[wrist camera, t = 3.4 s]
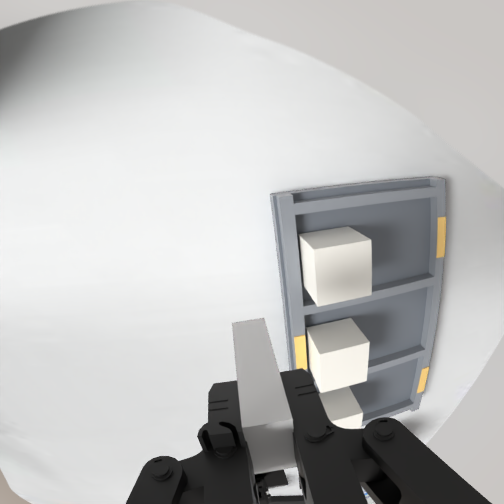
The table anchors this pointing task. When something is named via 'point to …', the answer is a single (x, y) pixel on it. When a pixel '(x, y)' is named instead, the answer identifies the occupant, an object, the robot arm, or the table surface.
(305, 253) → the white cube
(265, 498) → the black mounting bracket
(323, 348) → the white cube
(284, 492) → the table surface
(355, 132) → the table surface
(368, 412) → the gray divided tray
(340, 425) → the white cube
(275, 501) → the smart home device
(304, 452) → the robot arm
